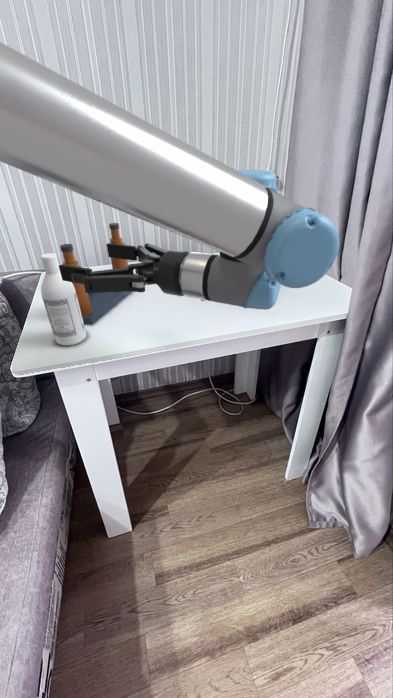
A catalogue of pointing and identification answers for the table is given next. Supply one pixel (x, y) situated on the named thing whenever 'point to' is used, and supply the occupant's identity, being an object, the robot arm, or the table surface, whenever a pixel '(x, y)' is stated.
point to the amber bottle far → (117, 240)
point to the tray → (102, 304)
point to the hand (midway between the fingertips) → (87, 260)
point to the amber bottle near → (80, 290)
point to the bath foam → (61, 304)
